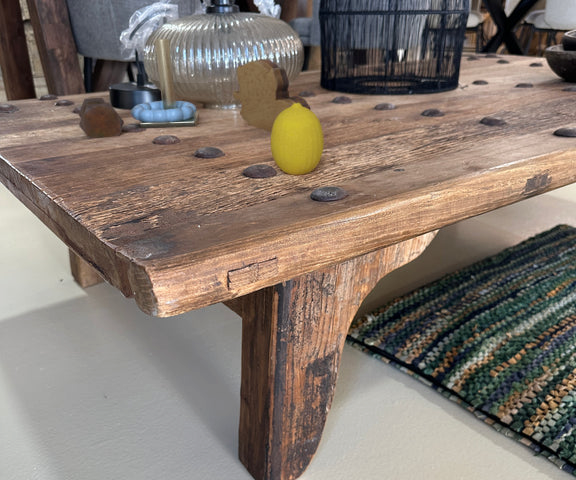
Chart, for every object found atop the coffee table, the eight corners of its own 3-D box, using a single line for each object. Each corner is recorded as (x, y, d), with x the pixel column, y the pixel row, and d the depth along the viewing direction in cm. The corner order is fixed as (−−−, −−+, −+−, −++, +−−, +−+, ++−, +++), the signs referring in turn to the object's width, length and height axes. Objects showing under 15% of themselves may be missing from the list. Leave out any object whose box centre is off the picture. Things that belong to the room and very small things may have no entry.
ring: (127, 124, 83) (125, 112, 82) (138, 112, 91) (136, 100, 90) (193, 122, 83) (192, 110, 82) (198, 110, 92) (197, 98, 91)
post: (141, 131, 84) (128, 41, 78) (149, 120, 91) (138, 37, 85) (195, 129, 84) (187, 40, 79) (199, 119, 92) (192, 36, 86)
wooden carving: (321, 142, 76) (322, 62, 71) (295, 148, 74) (294, 65, 69) (250, 123, 88) (247, 53, 83) (225, 128, 85) (220, 56, 80)
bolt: (103, 134, 91) (112, 152, 78) (71, 120, 88) (75, 136, 76) (116, 99, 90) (128, 112, 77) (84, 84, 87) (91, 95, 74)
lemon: (278, 189, 58) (276, 109, 55) (267, 174, 63) (264, 99, 59) (329, 185, 59) (331, 105, 56) (315, 170, 64) (315, 96, 60)
